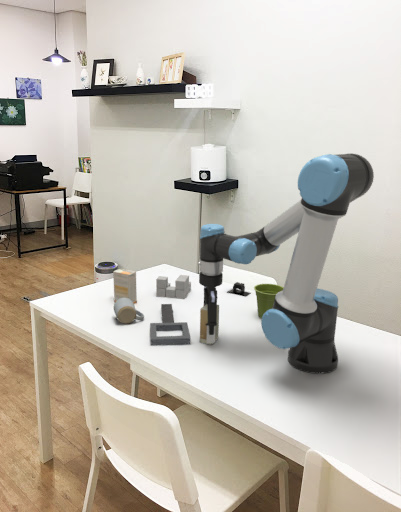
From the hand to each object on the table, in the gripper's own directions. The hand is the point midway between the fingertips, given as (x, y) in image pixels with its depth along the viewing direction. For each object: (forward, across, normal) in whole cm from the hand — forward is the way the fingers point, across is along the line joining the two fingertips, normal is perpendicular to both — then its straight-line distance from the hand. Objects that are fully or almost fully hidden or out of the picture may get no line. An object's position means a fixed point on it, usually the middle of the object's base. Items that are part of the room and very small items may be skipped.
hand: (209, 337), depth 164 cm
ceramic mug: (+2, -19, -27) cm, 33 cm away
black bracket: (+2, -46, +19) cm, 50 cm away
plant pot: (+1, -19, +25) cm, 31 cm away
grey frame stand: (+1, -13, -13) cm, 18 cm away
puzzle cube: (+2, -47, -9) cm, 48 cm away
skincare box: (+1, 0, 0) cm, 1 cm away
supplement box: (+1, -37, -29) cm, 47 cm away
